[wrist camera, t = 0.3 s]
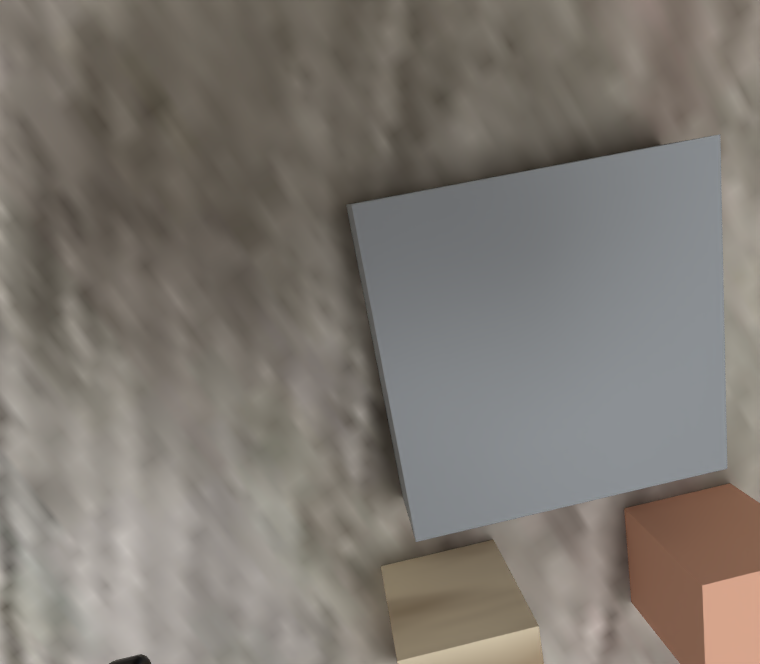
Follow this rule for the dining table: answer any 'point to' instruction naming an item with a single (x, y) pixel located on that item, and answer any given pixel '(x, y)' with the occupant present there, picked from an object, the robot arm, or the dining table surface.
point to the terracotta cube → (699, 573)
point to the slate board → (549, 333)
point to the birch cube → (460, 609)
